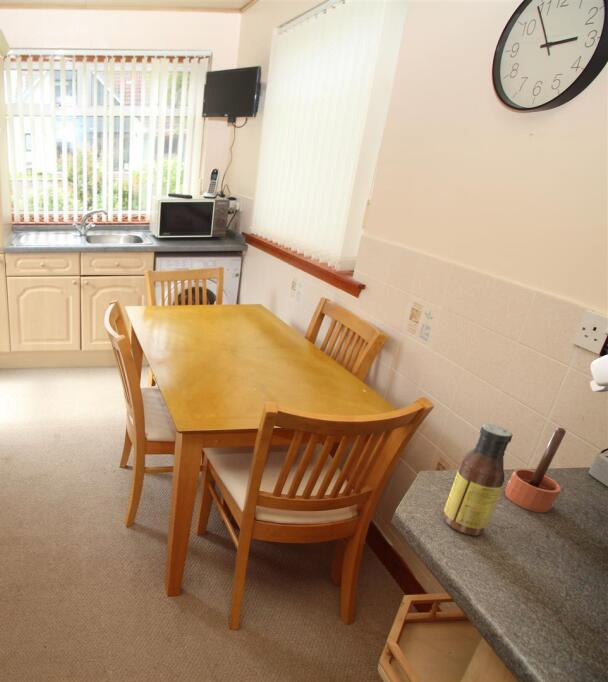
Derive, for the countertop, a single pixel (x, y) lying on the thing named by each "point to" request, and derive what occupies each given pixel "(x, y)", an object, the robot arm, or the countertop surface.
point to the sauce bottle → (478, 482)
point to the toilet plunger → (547, 457)
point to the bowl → (532, 491)
